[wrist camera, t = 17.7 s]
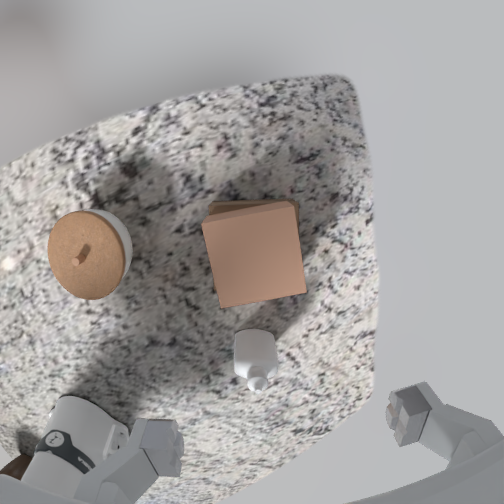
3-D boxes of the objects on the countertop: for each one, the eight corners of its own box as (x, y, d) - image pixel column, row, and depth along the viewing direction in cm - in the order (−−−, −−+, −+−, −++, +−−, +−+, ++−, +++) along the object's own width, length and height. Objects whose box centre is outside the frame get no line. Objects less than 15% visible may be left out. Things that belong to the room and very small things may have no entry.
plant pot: (61, 483, 57) (45, 520, 42) (24, 469, 57) (7, 502, 41) (40, 454, 53) (19, 494, 38) (4, 439, 53) (-19, 474, 38)
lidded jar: (153, 219, 39) (129, 235, 30) (131, 290, 42) (106, 320, 32) (86, 192, 38) (49, 200, 29) (69, 261, 40) (35, 283, 31)
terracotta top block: (298, 276, 37) (306, 292, 32) (223, 290, 37) (221, 308, 32) (286, 200, 34) (293, 206, 30) (206, 215, 34) (201, 224, 30)
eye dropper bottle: (261, 357, 45) (267, 411, 33) (229, 340, 44) (226, 394, 32) (278, 336, 44) (289, 388, 33) (245, 318, 43) (247, 369, 32)
